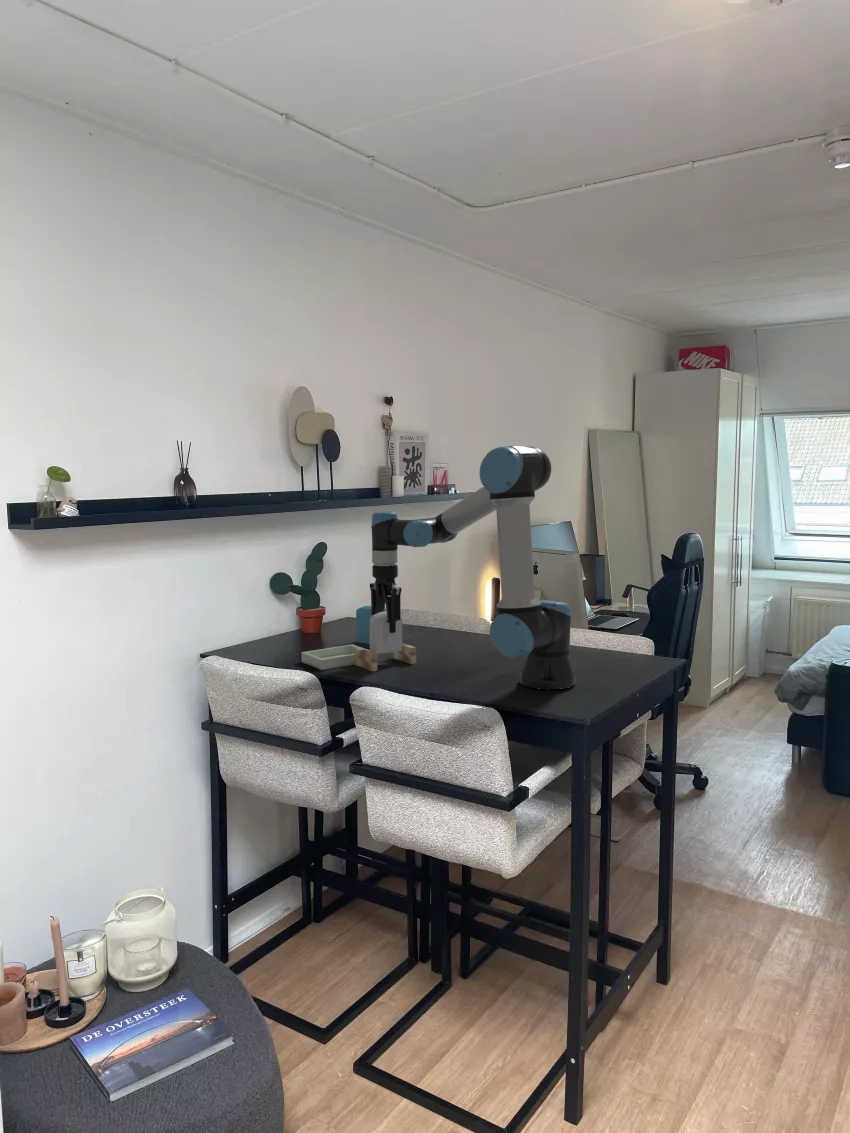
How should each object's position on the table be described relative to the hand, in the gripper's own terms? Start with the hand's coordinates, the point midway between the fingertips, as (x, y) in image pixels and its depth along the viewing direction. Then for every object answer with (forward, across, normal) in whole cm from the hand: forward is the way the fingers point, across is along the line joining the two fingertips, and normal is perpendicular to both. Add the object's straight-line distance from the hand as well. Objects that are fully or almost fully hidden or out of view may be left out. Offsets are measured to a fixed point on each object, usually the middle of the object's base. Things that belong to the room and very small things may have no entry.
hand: (386, 641), depth 253 cm
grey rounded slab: (+3, 0, 0) cm, 3 cm away
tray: (+7, +11, +10) cm, 17 cm away
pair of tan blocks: (+7, 0, 0) cm, 7 cm away
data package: (+7, +25, -13) cm, 29 cm away
